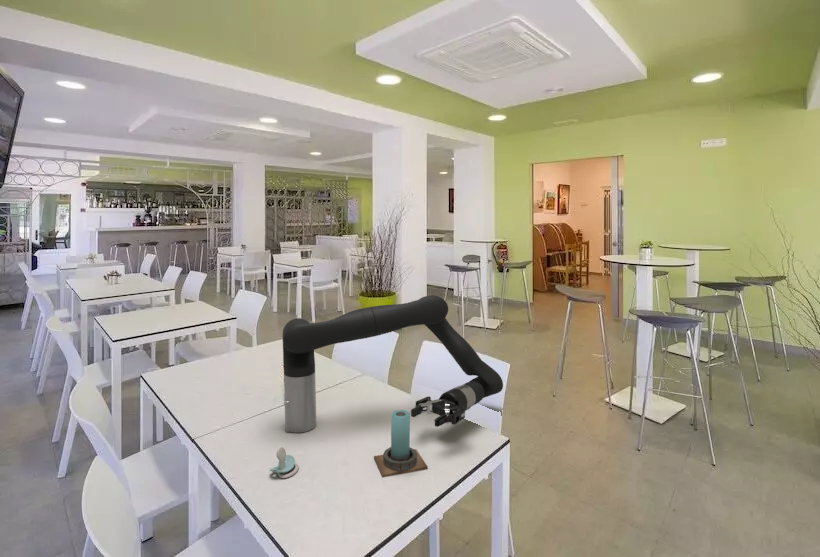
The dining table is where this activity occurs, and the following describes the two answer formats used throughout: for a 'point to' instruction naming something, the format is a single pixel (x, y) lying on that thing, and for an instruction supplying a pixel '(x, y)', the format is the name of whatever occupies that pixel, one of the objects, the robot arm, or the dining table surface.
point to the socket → (399, 463)
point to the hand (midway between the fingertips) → (423, 418)
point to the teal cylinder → (400, 435)
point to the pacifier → (285, 464)
